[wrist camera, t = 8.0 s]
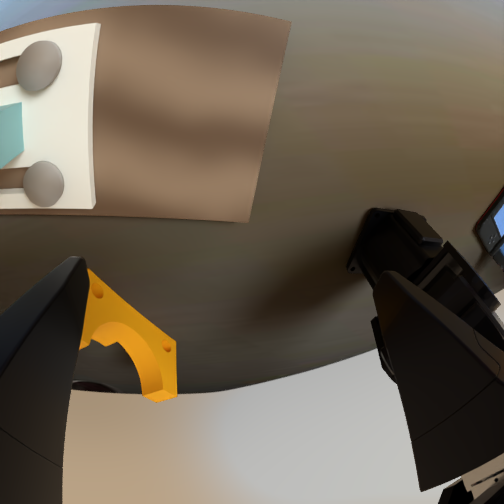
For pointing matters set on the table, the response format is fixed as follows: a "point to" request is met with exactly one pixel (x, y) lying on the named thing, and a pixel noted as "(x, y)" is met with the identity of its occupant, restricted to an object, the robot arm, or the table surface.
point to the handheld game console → (493, 229)
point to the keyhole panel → (53, 118)
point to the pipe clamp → (131, 339)
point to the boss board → (162, 109)
